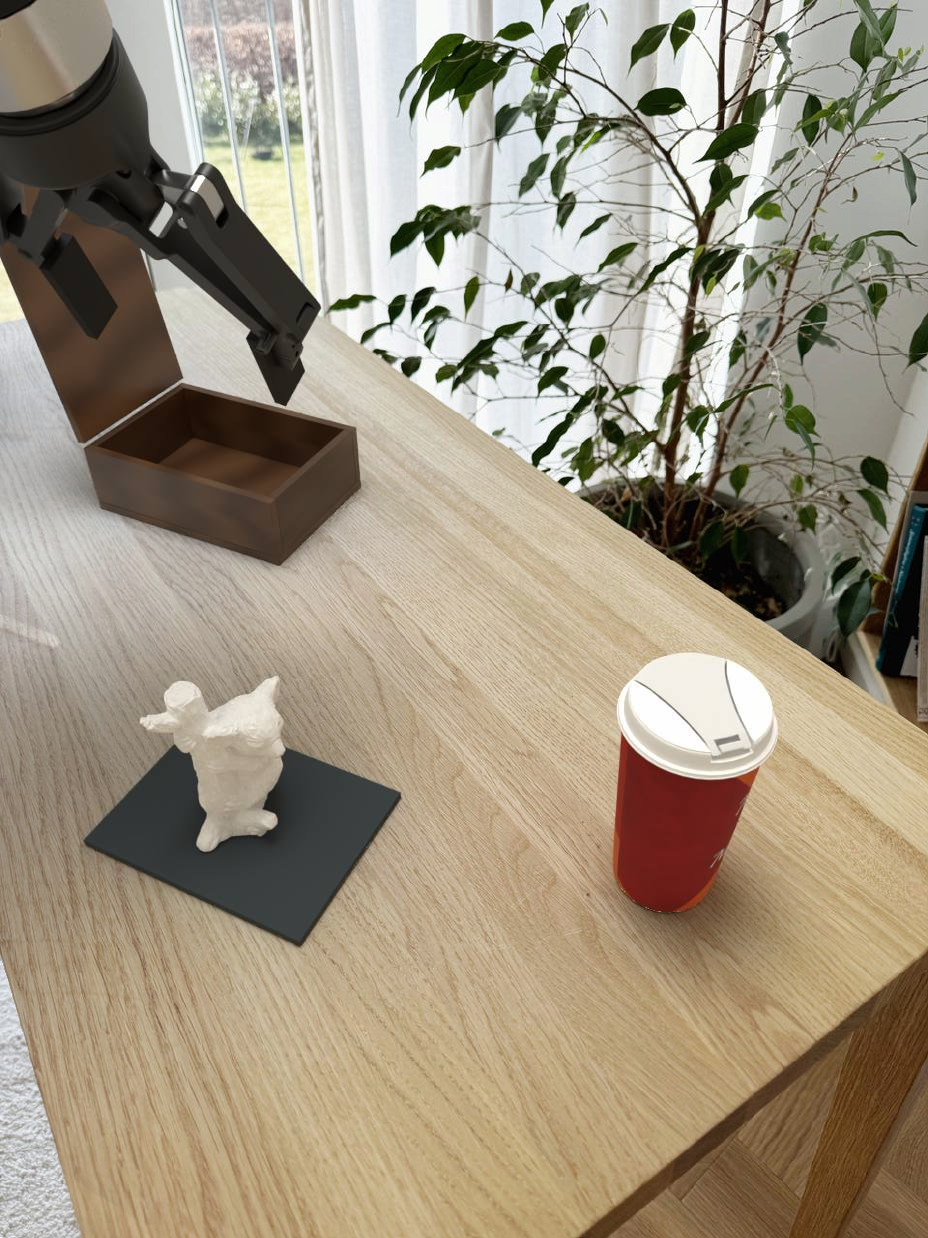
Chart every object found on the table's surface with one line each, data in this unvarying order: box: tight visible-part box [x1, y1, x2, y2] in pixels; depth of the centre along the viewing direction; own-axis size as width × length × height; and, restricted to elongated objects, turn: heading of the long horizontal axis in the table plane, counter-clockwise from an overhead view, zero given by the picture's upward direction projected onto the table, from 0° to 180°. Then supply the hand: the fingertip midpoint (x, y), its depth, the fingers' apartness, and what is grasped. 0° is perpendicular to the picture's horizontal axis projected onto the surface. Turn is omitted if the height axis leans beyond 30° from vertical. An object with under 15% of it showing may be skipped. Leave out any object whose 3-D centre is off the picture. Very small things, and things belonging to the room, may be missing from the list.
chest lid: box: [0, 185, 184, 444], centre depth 83 cm, size 20×14×1 cm
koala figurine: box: [139, 675, 286, 852], centre depth 58 cm, size 8×7×12 cm
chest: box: [82, 382, 362, 566], centre depth 88 cm, size 20×14×6 cm
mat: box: [82, 743, 402, 946], centre depth 62 cm, size 16×12×1 cm
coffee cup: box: [612, 651, 779, 913], centre depth 54 cm, size 8×8×15 cm
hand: (194, 353), depth 61 cm, fingers open, 13 cm apart
